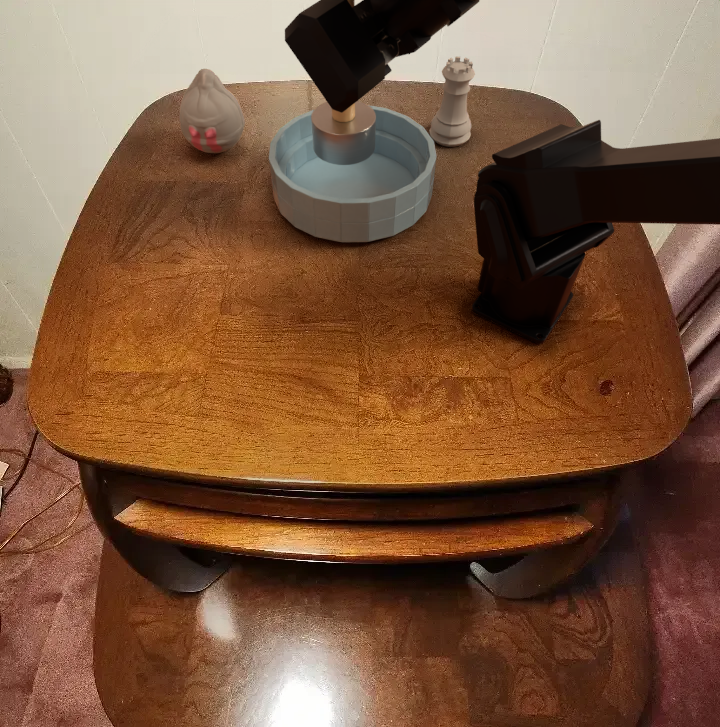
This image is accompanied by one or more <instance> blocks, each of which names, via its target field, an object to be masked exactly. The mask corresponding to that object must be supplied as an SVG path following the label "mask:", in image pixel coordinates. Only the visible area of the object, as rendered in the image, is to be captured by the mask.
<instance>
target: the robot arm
mask: <svg viewBox="0 0 720 727" xmlns="http://www.w3.org/2000/svg"><path fill="white" fill-rule="evenodd" d="M478 3H480V0H361V1H360V2H358V3H357V4H355V6H354V7H351V5H350V3H349V2H348V0H318V1H317V2H315V3H313V4H312V5H311V6H309V7H307V8H305V9H303V10H302V11H300V12H299V13H298V14H297V15H296V16H295V17H294V18H293V20H292V21H291V22H290V23H289V24H288V25H287V26H286V27H285V28H284V42H285V43H286V45H287V46H288V47H289V49H290V50H291V52H292V53H293V55H294V56H295V58H296V60H298V62H299V63H300V65H301V66H302V68H303V69H304V71H305V72H306V73H307V75H308V77H309V78H310V79H311V81H312V82H313V83H314V85H315V87H316V88H317V89H318V91H319V93H320V95H321V96H322V97H323V98H324V100H325V102H328V104H329V105H330V107H331V108H332V109H333V110H335V111H338V112H341V113H342V112H344V111H345V110H346V109H348V108H349V107H350V106H352V105H353V104H354V103H355V102H357V101H360V99H362V98H363V97H364V96H365V95H367V94H368V93H369V92H370V91H371V90H373V89H374V88H375V87H377V86H378V84H381V82H382V81H384V80H385V79H386V76H387V75H389V74H390V73H392V68H391V67H390V65H389V63H390V62H391V61H393V60H394V59H395V58H398V57H403V56H406V55H410V54H413V53H416V52H417V51H418V50H420V49H421V48H422V47H423V46H424V45H425V44H427V43H428V42H429V41H430V40H431V39H432V37H433V36H434V35H435V34H438V32H439V31H440V30H442V29H443V28H444V27H446V26H447V27H450V26H451V25H452V24H454V23H456V22H457V20H459V19H460V18H461V17H462V16H464V15H465V14H467V12H469V11H470V10H471V9H472V8H473V7H475V6H476V5H477V4H478ZM491 159H492V160H493V162H492V163H490V164H487V165H485V166H483V167H482V168H480V170H479V171H478V173H477V177H478V178H477V180H476V190H475V193H474V196H473V210H474V222H475V232H476V244H477V253H478V255H479V256H480V257H481V258H482V259H483V260H482V265H481V269H480V270H481V271H480V274H479V278H478V282H477V287H476V289H477V292H478V293H480V294H479V296H478V297H477V298H476V299H475V301H474V302H473V303H472V305H471V312H472V313H473V314H474V315H476V316H479V317H481V318H483V319H485V320H487V321H489V322H491V323H493V324H495V325H497V326H500V327H502V328H503V329H506V330H507V331H510V332H512V333H514V334H516V335H519V336H520V337H522V338H524V339H526V340H529V341H531V342H533V343H535V344H537V345H542V344H544V343H545V342H546V340H547V339H548V337H549V336H550V334H551V332H552V331H553V329H554V328H555V326H556V325H557V323H558V322H559V320H560V318H562V316H563V314H564V312H565V311H566V310H567V308H568V306H569V305H570V303H571V302H572V300H573V297H574V293H573V291H572V290H573V287H574V285H575V282H576V280H577V277H578V275H579V272H580V270H581V267H582V265H583V262H584V260H585V257H586V253H587V252H588V251H590V250H592V249H593V248H594V249H595V248H598V247H599V246H601V245H603V243H604V242H606V241H607V240H608V239H609V238H610V237H611V236H612V235H613V234H614V233H615V227H614V224H615V223H616V224H661V225H662V224H663V225H664V224H665V225H666V224H667V225H670V224H671V225H717V226H718V225H720V137H718V138H708V139H699V140H691V141H682V142H681V141H680V142H674V143H673V142H671V143H661V144H652V145H643V146H634V147H633V146H632V147H624V148H623V147H622V148H619V147H613V146H612V145H610V144H609V143H607V142H605V141H604V140H602V121H601V119H598V120H595V121H591V122H589V123H587V124H585V125H581V126H568V125H566V124H561V123H560V124H558V125H556V126H554V127H551V128H549V129H547V130H545V131H542V132H540V133H537V134H535V135H533V136H531V137H528V138H525V139H524V140H522V141H519V142H517V143H514V144H512V145H510V146H508V147H506V148H503V149H502V150H498V151H497V152H494V153H492V155H491ZM613 223H614V224H613Z"/></svg>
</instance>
